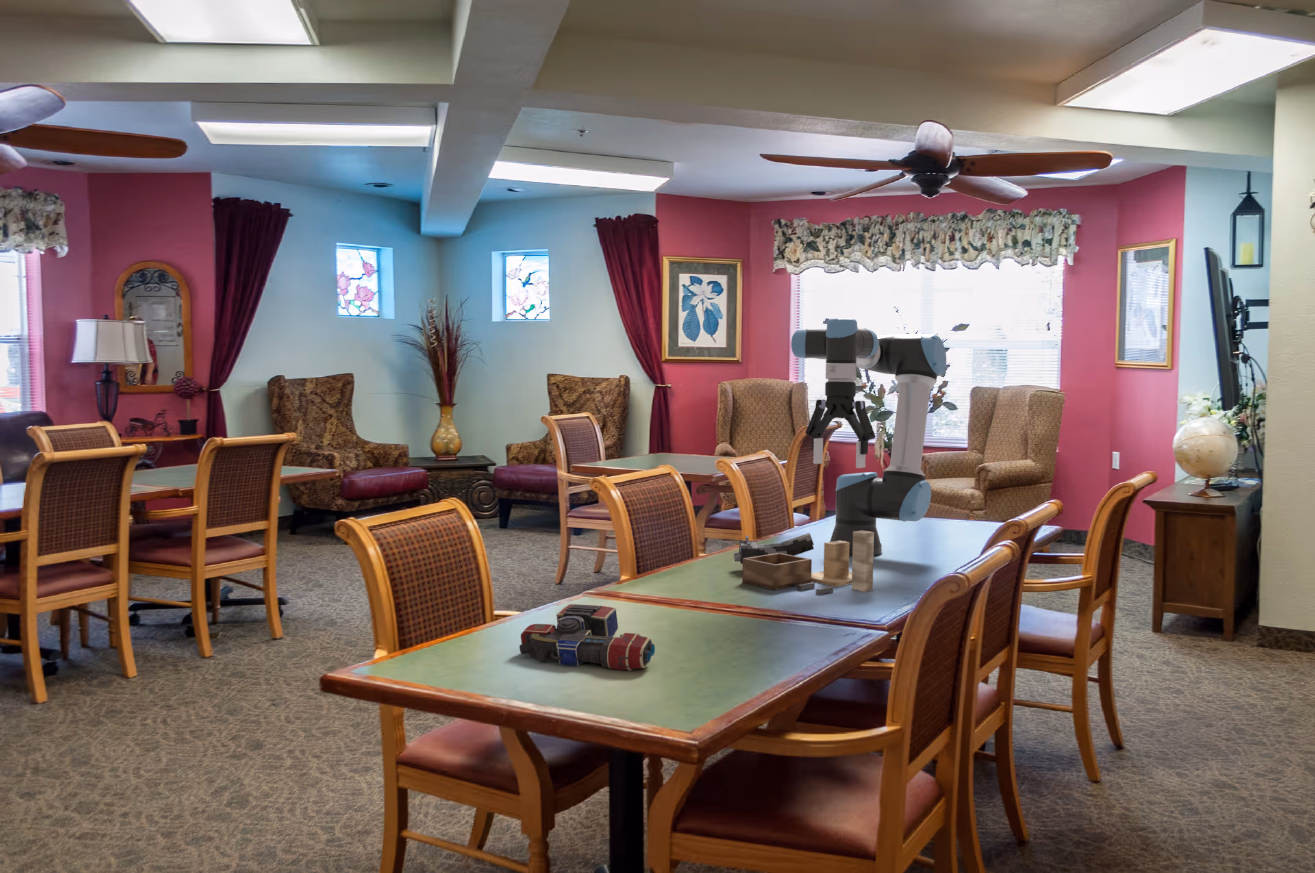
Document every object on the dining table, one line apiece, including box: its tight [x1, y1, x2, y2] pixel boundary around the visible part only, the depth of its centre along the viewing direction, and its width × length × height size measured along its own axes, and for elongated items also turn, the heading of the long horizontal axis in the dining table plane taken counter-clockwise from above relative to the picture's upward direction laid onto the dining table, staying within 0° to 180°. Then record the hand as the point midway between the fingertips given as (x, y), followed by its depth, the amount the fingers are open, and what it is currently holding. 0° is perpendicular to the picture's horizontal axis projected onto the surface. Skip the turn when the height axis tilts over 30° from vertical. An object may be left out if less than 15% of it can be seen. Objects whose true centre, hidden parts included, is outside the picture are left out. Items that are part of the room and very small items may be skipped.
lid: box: [811, 541, 852, 588], centre depth 250 cm, size 14×12×10 cm
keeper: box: [791, 581, 834, 596], centre depth 237 cm, size 5×10×1 cm, turn 40°
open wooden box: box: [741, 553, 813, 591], centre depth 244 cm, size 13×11×6 cm
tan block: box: [851, 530, 874, 593], centre depth 237 cm, size 4×4×14 cm
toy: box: [733, 532, 815, 565], centre depth 259 cm, size 7×21×10 cm, turn 89°
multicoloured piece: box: [518, 603, 656, 672], centre depth 181 cm, size 8×25×20 cm
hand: (838, 465), depth 248 cm, fingers open, 13 cm apart
